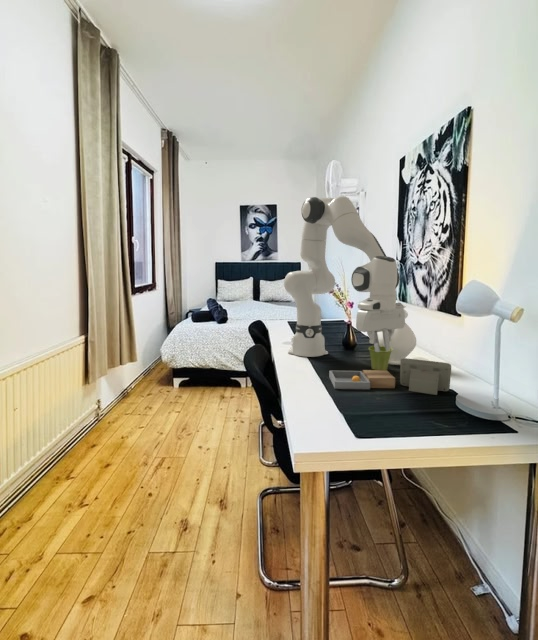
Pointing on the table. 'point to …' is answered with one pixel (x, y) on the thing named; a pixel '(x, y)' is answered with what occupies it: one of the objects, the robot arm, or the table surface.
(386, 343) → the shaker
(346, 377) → the tray
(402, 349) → the decorative vase
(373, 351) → the plant pot
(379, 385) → the stand
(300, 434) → the table surface
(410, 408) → the table surface
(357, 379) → the ball
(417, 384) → the digital clock
